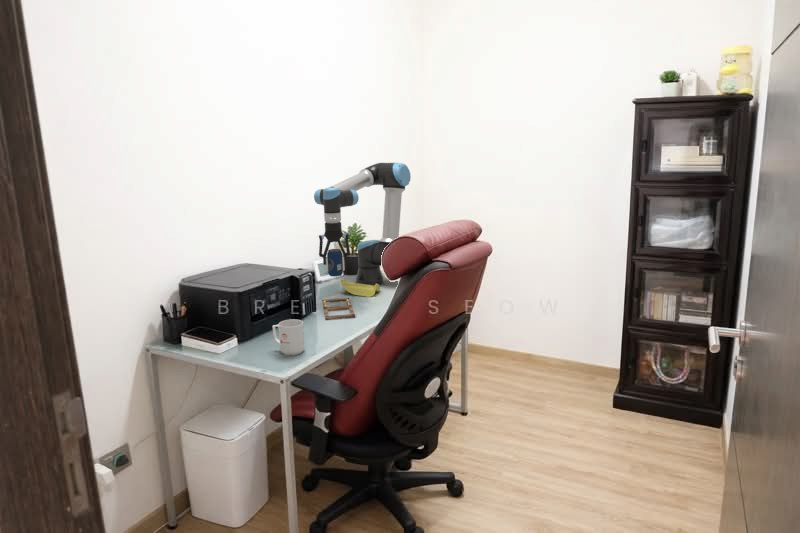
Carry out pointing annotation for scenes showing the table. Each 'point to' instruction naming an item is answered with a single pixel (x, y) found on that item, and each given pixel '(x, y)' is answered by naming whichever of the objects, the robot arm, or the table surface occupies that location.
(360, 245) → the robot arm
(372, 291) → the plastic component
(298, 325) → the mug
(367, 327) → the table surface
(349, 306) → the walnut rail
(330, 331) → the table surface
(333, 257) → the soda can
